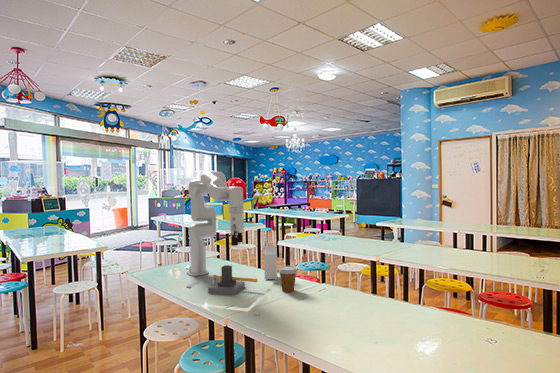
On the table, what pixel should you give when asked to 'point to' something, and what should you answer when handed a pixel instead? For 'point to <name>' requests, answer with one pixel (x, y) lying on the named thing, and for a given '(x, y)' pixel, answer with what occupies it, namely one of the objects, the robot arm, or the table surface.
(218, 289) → the socket
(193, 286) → the mat
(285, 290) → the disposable coffee cup
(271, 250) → the milk carton
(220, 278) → the orange rod with ball
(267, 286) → the table surface
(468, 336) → the table surface
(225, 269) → the plug
